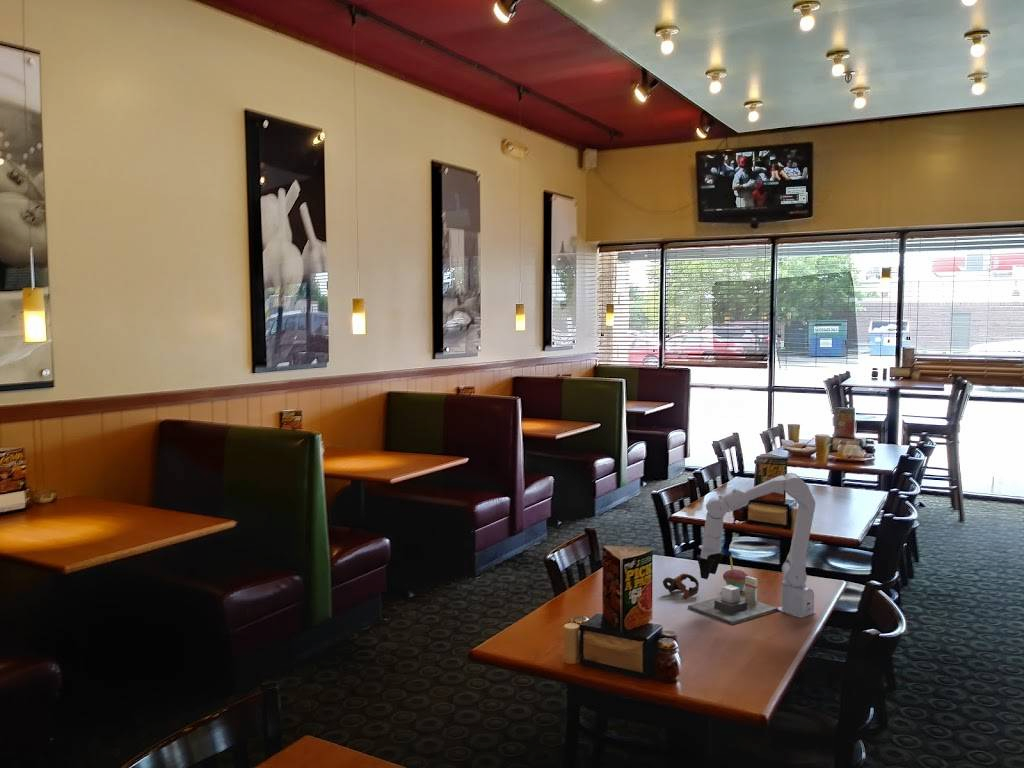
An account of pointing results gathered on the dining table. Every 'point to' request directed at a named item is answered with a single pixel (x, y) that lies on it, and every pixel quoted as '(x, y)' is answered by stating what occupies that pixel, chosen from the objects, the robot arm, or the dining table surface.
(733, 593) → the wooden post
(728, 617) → the stand base
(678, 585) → the broken terracotta ring
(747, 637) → the dining table surface
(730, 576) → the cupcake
